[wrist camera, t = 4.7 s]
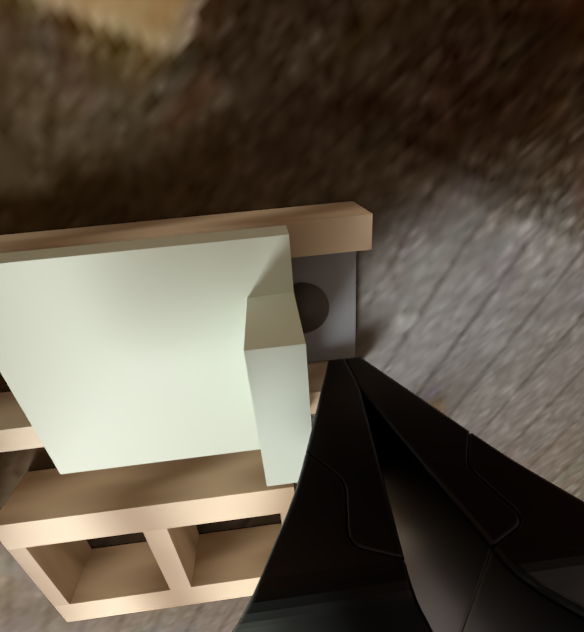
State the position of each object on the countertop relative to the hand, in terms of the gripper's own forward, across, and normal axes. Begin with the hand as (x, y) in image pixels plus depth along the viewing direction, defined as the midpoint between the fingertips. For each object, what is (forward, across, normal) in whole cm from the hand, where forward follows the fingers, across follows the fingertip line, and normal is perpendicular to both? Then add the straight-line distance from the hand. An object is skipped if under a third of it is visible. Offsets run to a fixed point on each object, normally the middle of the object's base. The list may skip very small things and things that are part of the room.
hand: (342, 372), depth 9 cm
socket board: (+5, +8, +11) cm, 14 cm away
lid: (+2, +5, 0) cm, 5 cm away
